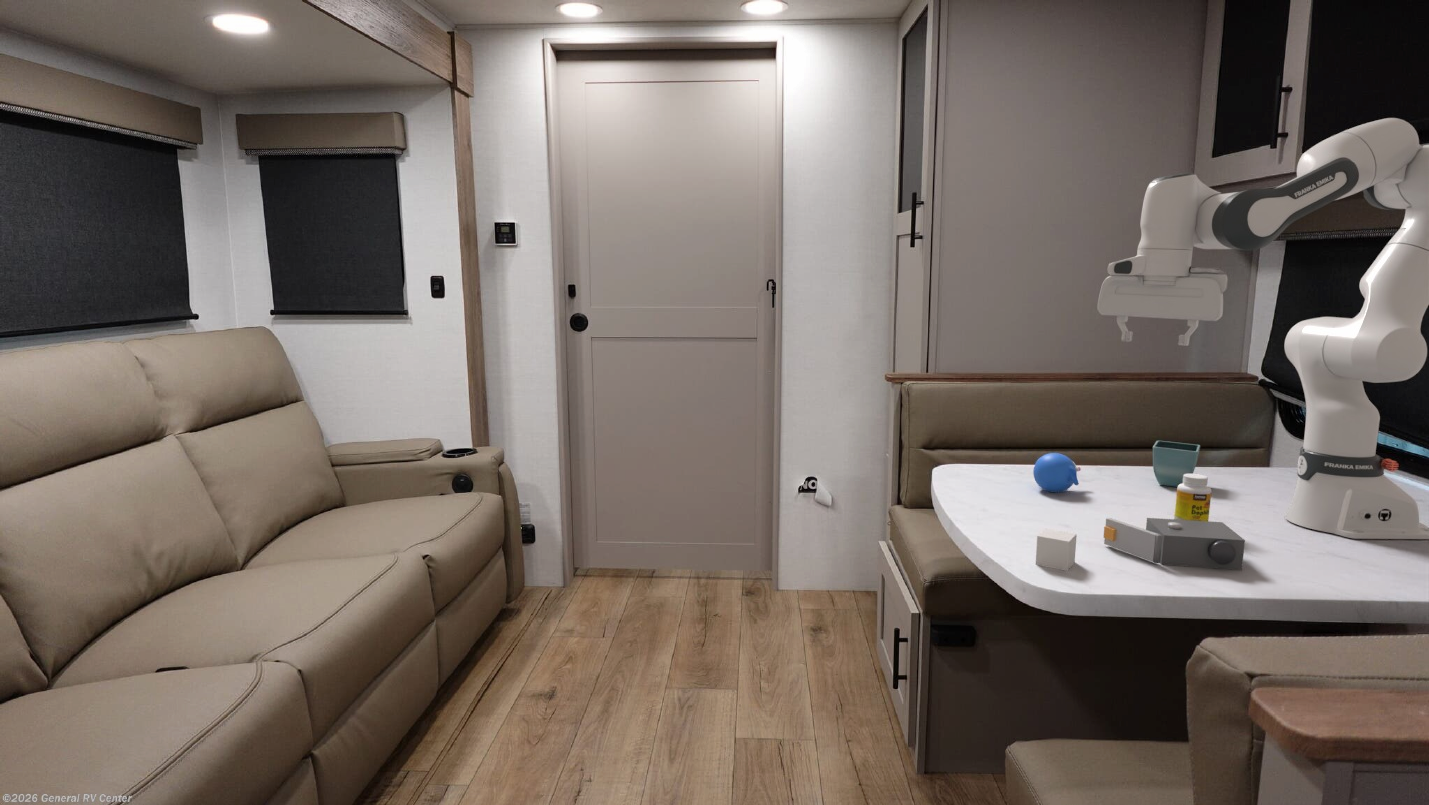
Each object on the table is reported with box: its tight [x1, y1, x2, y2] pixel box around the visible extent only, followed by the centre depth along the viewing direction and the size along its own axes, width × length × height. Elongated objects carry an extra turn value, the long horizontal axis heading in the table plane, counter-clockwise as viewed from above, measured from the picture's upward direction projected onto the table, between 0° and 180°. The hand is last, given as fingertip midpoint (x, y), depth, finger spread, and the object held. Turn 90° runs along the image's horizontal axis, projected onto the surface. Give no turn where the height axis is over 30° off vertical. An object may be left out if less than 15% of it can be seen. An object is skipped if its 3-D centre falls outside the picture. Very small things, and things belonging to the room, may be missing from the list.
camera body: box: [1145, 517, 1246, 571], centre depth 144 cm, size 12×12×6 cm
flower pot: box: [1152, 440, 1201, 488], centre depth 193 cm, size 9×9×9 cm
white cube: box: [1035, 528, 1078, 571], centre depth 142 cm, size 5×5×5 cm
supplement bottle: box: [1173, 473, 1212, 521], centre depth 160 cm, size 6×6×10 cm
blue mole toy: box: [1032, 452, 1082, 493], centre depth 187 cm, size 12×12×8 cm
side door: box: [1103, 517, 1162, 564], centre depth 146 cm, size 2×11×5 cm, turn 23°
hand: (1154, 343), depth 157 cm, fingers open, 8 cm apart
